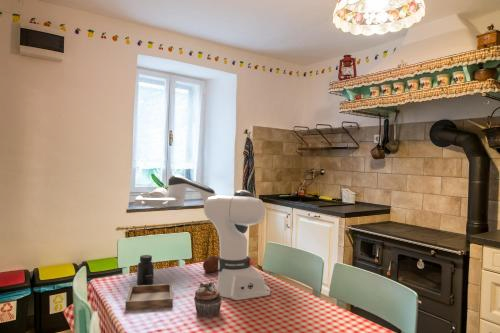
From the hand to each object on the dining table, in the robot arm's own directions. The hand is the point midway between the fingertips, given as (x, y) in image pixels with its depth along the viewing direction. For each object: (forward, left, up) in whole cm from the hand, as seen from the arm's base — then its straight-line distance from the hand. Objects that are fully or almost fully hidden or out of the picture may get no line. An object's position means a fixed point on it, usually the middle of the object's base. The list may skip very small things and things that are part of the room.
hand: (153, 205), depth 164 cm
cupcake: (-21, +51, -32) cm, 64 cm away
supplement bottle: (+2, +18, -32) cm, 37 cm away
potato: (-28, +5, -32) cm, 43 cm away
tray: (-1, +36, -32) cm, 48 cm away
